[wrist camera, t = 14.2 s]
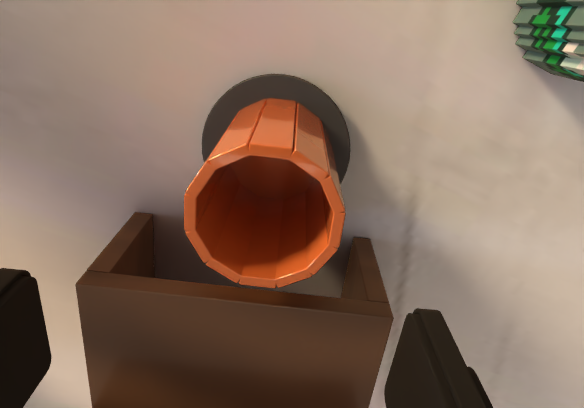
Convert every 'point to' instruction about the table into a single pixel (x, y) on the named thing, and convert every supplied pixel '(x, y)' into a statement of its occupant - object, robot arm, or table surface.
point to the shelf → (226, 335)
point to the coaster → (286, 90)
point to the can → (553, 35)
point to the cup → (267, 197)
